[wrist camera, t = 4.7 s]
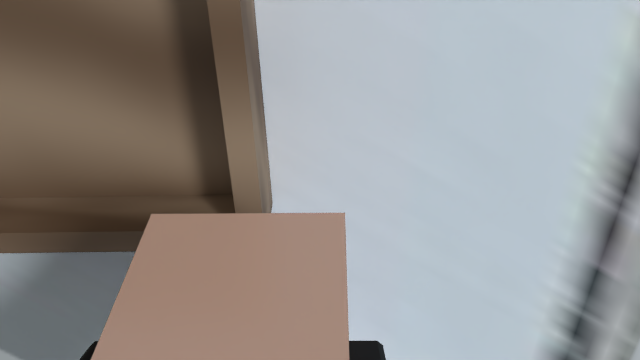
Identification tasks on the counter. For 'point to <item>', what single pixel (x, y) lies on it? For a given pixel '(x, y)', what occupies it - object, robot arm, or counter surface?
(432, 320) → the counter surface
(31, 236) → the tray
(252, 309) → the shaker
